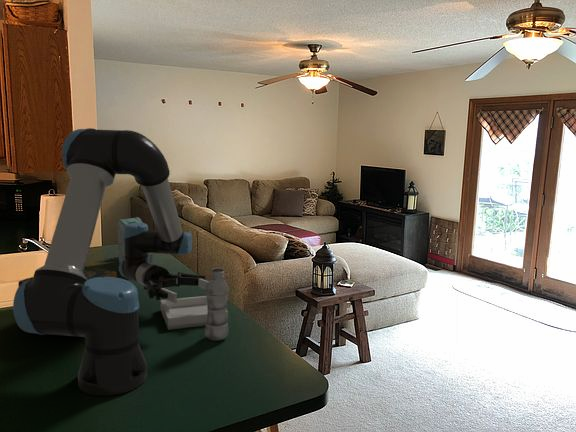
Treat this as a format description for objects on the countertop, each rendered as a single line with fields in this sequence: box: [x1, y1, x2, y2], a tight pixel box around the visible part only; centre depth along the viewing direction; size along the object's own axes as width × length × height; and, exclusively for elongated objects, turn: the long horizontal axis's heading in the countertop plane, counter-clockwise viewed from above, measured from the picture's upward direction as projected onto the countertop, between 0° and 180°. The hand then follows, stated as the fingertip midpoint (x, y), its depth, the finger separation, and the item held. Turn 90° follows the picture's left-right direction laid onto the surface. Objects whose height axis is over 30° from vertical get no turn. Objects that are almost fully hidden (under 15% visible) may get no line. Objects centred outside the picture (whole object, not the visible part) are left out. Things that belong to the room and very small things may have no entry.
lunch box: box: [117, 216, 153, 264], centre depth 194 cm, size 27×10×21 cm, turn 29°
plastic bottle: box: [204, 268, 230, 342], centre depth 131 cm, size 6×7×20 cm
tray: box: [160, 295, 229, 330], centre depth 148 cm, size 16×18×4 cm
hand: (195, 292), depth 137 cm, fingers open, 13 cm apart
